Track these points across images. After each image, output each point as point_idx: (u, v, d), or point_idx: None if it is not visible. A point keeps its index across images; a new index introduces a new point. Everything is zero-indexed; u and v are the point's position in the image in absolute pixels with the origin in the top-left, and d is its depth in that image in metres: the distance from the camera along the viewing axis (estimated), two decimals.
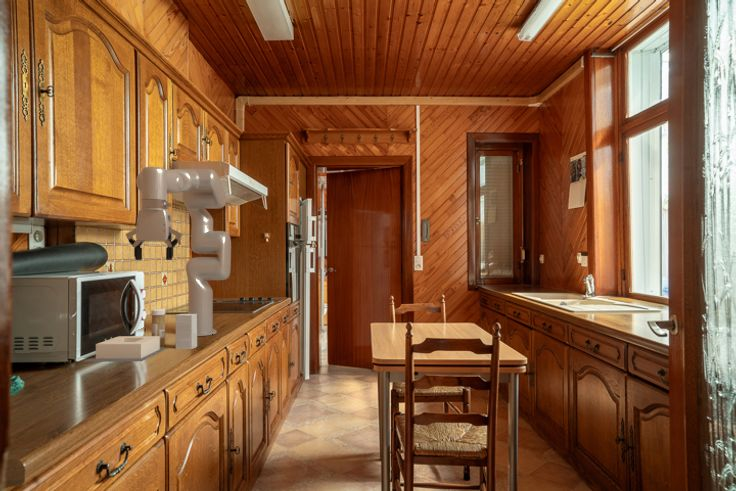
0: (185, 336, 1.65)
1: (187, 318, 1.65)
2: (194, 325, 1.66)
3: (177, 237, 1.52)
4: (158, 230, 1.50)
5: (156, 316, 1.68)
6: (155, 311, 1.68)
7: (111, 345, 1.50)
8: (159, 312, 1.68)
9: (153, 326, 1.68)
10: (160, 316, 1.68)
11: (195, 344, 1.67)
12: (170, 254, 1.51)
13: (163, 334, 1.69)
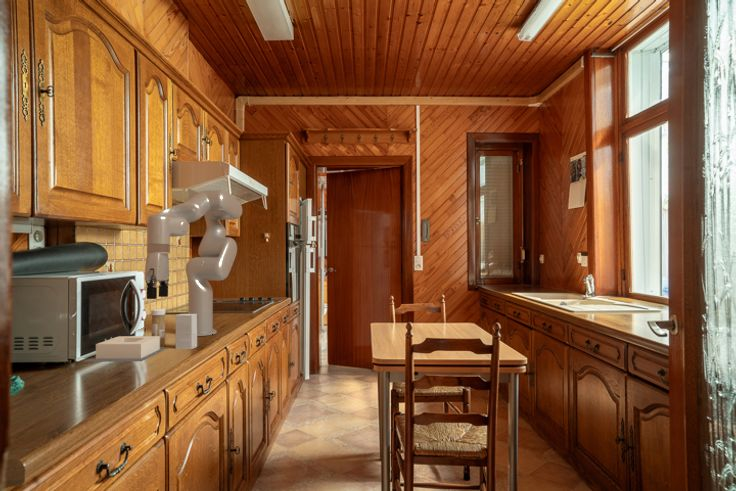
0: (185, 336, 1.65)
1: (187, 318, 1.65)
2: (194, 324, 1.66)
3: None
4: (167, 271, 1.72)
5: (156, 316, 1.68)
6: (155, 311, 1.68)
7: (111, 345, 1.50)
8: (159, 312, 1.68)
9: (153, 326, 1.68)
10: (160, 316, 1.68)
11: (195, 344, 1.67)
12: None
13: (163, 334, 1.69)
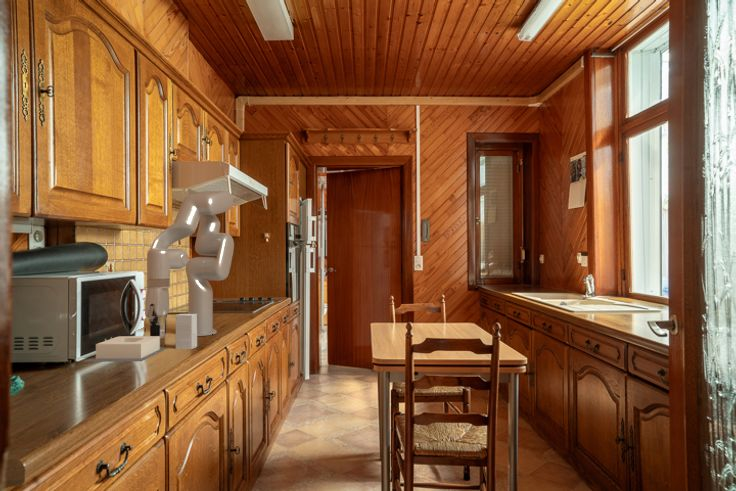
0: (185, 336, 1.65)
1: (187, 318, 1.65)
2: (194, 325, 1.66)
3: (166, 314, 1.75)
4: (167, 305, 1.72)
5: None
6: None
7: (111, 345, 1.50)
8: None
9: None
10: (160, 316, 1.68)
11: (195, 344, 1.67)
12: None
13: (163, 334, 1.69)
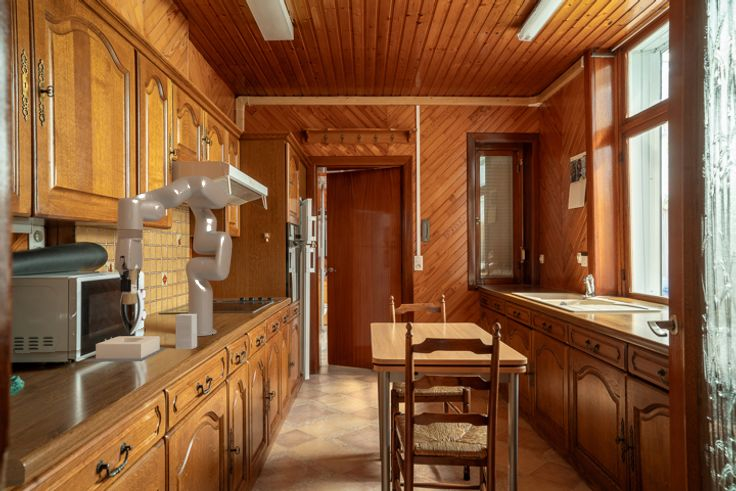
0: (185, 336, 1.65)
1: (187, 318, 1.65)
2: (194, 324, 1.66)
3: (139, 270, 1.63)
4: (140, 259, 1.59)
5: None
6: None
7: (111, 345, 1.50)
8: None
9: None
10: (131, 270, 1.55)
11: (195, 344, 1.67)
12: None
13: (135, 290, 1.56)
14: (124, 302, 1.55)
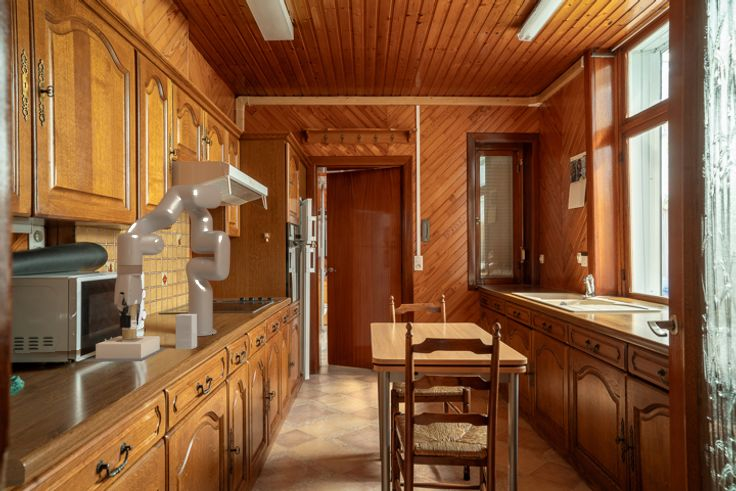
0: (185, 336, 1.65)
1: (187, 318, 1.65)
2: (194, 324, 1.66)
3: (139, 304, 1.63)
4: (140, 294, 1.59)
5: None
6: None
7: (111, 345, 1.50)
8: None
9: None
10: None
11: (195, 344, 1.67)
12: None
13: (134, 325, 1.56)
14: (124, 338, 1.55)
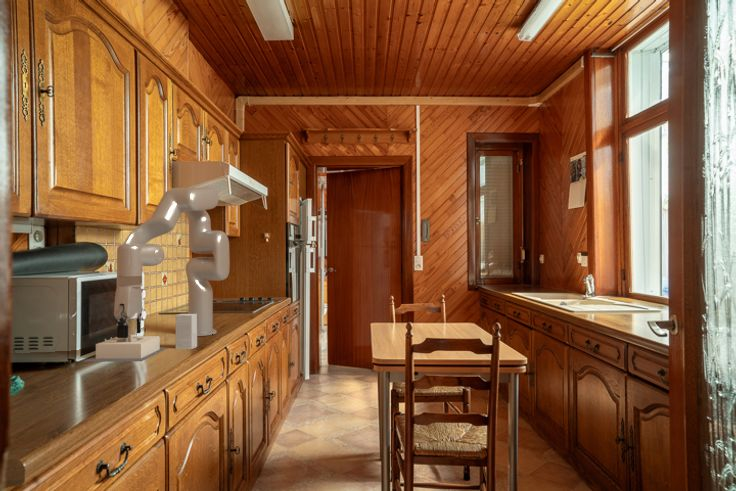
0: (185, 336, 1.65)
1: (187, 318, 1.65)
2: (194, 324, 1.66)
3: None
4: (139, 305, 1.59)
5: None
6: None
7: (111, 345, 1.50)
8: None
9: None
10: (131, 320, 1.55)
11: (195, 344, 1.67)
12: None
13: (135, 339, 1.56)
14: None
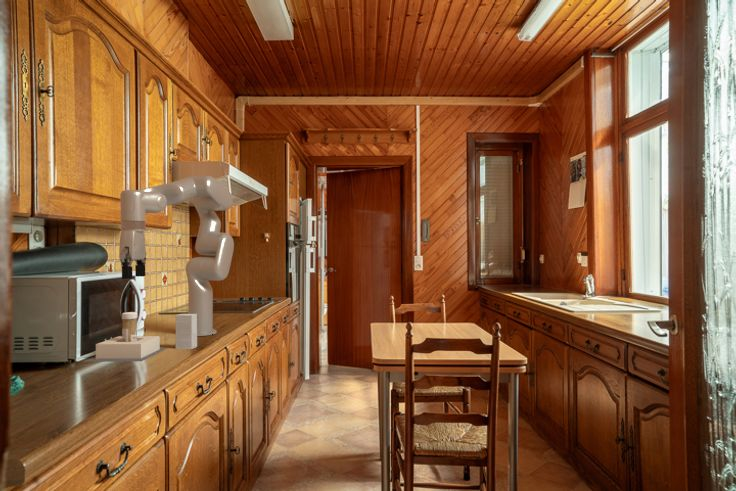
0: (185, 336, 1.65)
1: (187, 318, 1.65)
2: (194, 324, 1.66)
3: (145, 255, 1.69)
4: (143, 249, 1.64)
5: (127, 320, 1.55)
6: (126, 315, 1.55)
7: (111, 345, 1.50)
8: (130, 316, 1.55)
9: (124, 331, 1.55)
10: (131, 320, 1.55)
11: (195, 344, 1.67)
12: None
13: (135, 339, 1.56)
14: None
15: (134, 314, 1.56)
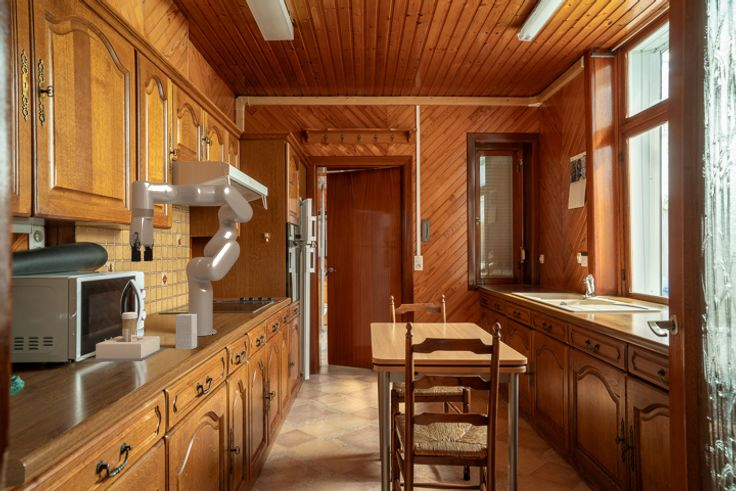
0: (185, 336, 1.65)
1: (187, 318, 1.65)
2: (194, 325, 1.66)
3: (153, 242, 1.83)
4: (151, 236, 1.77)
5: (127, 320, 1.55)
6: (126, 315, 1.55)
7: (111, 345, 1.50)
8: (130, 316, 1.55)
9: (124, 331, 1.55)
10: (131, 320, 1.55)
11: (195, 344, 1.67)
12: None
13: (135, 339, 1.56)
14: None
15: (134, 314, 1.56)
